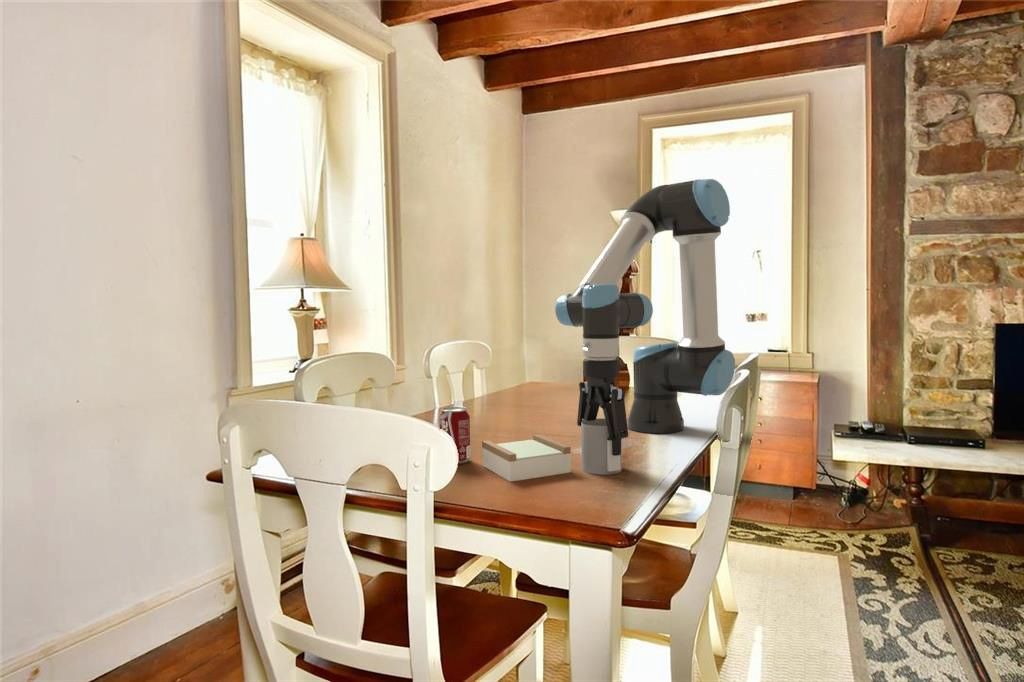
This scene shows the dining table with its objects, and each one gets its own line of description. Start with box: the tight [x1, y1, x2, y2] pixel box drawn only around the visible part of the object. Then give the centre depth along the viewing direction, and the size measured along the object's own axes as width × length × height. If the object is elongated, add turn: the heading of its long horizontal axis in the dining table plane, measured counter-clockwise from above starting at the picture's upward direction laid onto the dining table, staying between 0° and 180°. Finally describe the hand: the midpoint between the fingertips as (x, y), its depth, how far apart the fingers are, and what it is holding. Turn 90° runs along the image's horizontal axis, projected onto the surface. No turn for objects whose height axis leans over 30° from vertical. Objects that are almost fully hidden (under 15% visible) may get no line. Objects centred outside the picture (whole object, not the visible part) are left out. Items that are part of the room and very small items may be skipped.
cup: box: [580, 418, 623, 476], centre depth 135 cm, size 8×8×10 cm
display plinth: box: [481, 434, 572, 483], centre depth 137 cm, size 14×14×5 cm
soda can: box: [438, 406, 472, 465], centre depth 143 cm, size 7×7×12 cm
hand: (601, 465), depth 136 cm, fingers closed on cup, 8 cm apart
